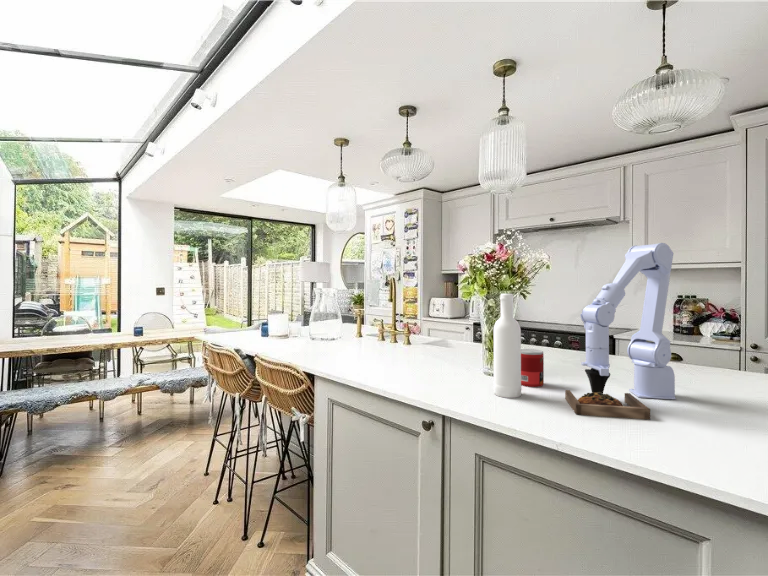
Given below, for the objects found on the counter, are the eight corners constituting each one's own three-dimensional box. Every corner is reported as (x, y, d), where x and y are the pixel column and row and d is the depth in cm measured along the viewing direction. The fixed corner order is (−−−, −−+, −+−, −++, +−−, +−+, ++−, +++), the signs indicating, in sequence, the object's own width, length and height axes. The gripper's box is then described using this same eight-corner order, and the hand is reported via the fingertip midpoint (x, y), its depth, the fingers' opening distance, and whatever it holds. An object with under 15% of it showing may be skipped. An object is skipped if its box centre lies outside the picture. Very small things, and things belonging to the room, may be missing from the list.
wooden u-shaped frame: (629, 402, 110) (629, 393, 110) (650, 419, 96) (650, 409, 96) (565, 398, 114) (565, 389, 114) (576, 414, 100) (576, 404, 100)
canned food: (546, 387, 126) (545, 353, 125) (519, 386, 127) (519, 352, 127) (541, 381, 133) (540, 349, 133) (516, 381, 135) (515, 348, 134)
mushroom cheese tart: (602, 416, 98) (600, 395, 99) (567, 409, 109) (566, 390, 109) (634, 412, 102) (632, 392, 103) (597, 406, 113) (596, 388, 113)
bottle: (496, 398, 115) (496, 294, 114) (490, 390, 123) (490, 293, 122) (525, 398, 114) (524, 294, 114) (517, 390, 122) (516, 293, 122)
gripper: (575, 343, 119) (575, 388, 119) (588, 351, 105) (588, 402, 105) (601, 343, 117) (601, 389, 117) (617, 352, 103) (617, 404, 103)
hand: (597, 396), depth 111 cm, fingers closed
